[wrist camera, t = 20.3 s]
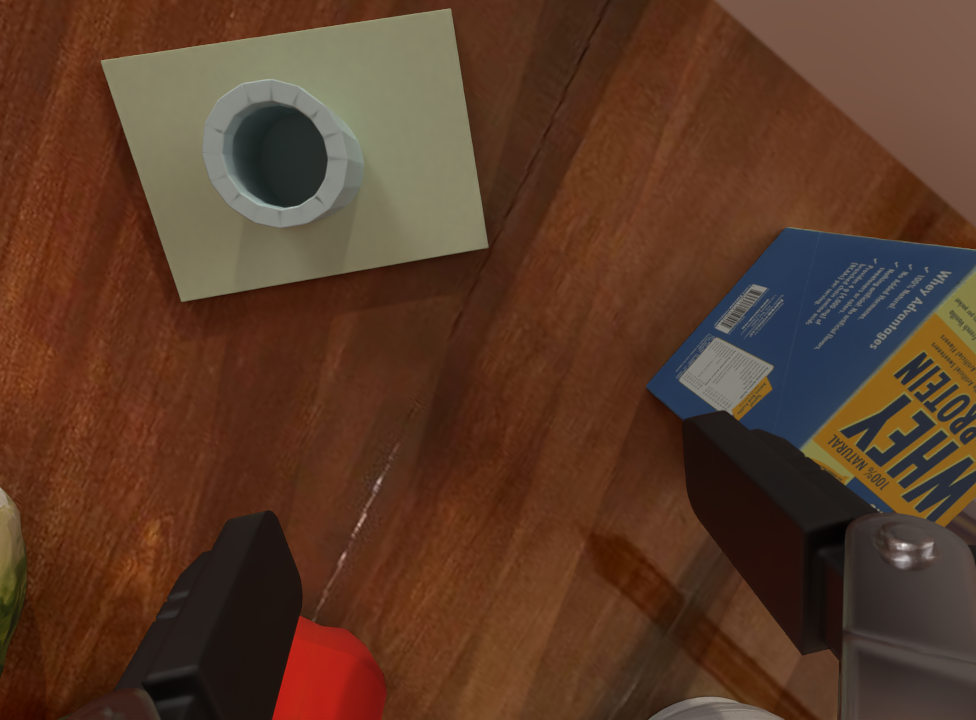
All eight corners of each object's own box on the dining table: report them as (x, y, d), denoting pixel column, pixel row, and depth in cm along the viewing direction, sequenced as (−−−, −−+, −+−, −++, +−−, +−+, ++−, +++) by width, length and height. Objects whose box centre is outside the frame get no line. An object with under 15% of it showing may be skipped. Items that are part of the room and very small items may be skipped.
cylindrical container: (350, 98, 34) (328, 69, 25) (373, 208, 36) (360, 215, 27) (242, 115, 33) (182, 91, 25) (272, 225, 35) (226, 238, 27)
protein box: (872, 310, 43) (1109, 375, 28) (731, 459, 45) (882, 592, 31) (785, 222, 40) (999, 244, 25) (640, 387, 43) (759, 494, 28)
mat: (450, 12, 34) (450, 8, 33) (487, 246, 38) (488, 247, 37) (107, 63, 33) (99, 60, 32) (186, 299, 37) (181, 302, 36)
